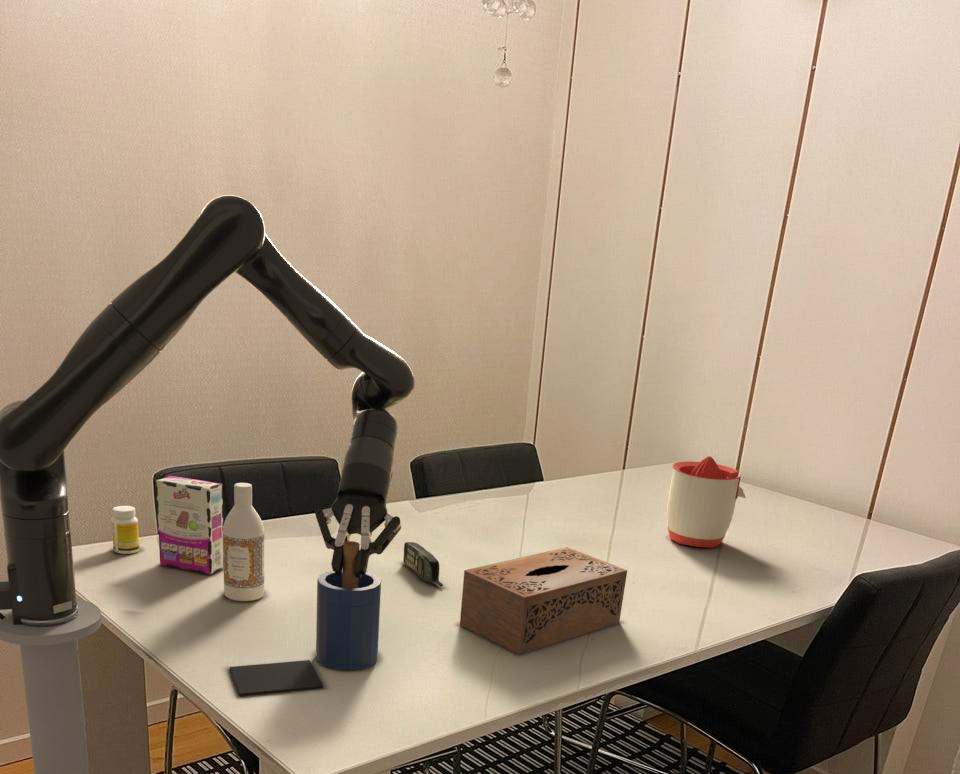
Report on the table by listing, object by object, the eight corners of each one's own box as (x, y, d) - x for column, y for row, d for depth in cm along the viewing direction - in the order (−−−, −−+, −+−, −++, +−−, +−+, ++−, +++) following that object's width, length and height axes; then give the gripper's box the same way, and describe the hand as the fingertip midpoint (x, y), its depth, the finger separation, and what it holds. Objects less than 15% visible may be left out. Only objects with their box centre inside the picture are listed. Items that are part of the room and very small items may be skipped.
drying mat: (239, 696, 136) (239, 693, 136) (229, 669, 144) (229, 666, 144) (323, 688, 141) (323, 685, 141) (309, 662, 148) (309, 660, 148)
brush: (337, 637, 146) (340, 549, 140) (330, 625, 150) (332, 539, 144) (367, 635, 147) (370, 548, 142) (359, 623, 151) (362, 538, 146)
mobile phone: (401, 540, 192) (433, 563, 180) (415, 539, 193) (447, 561, 181) (400, 564, 194) (431, 588, 182) (414, 563, 195) (446, 587, 183)
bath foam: (218, 599, 168) (215, 487, 160) (231, 586, 175) (229, 477, 167) (257, 604, 168) (256, 492, 160) (269, 590, 174) (269, 481, 166)
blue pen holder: (324, 673, 145) (326, 592, 140) (310, 647, 153) (311, 570, 148) (384, 667, 149) (388, 588, 144) (367, 643, 157) (370, 567, 152)
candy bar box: (225, 568, 183) (224, 483, 176) (211, 575, 179) (209, 489, 172) (173, 557, 186) (170, 473, 179) (158, 565, 181) (154, 479, 175)
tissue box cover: (518, 654, 158) (524, 597, 154) (459, 624, 167) (464, 570, 163) (619, 622, 174) (627, 570, 170) (560, 597, 184) (567, 547, 180)
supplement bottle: (144, 550, 188) (142, 508, 185) (125, 556, 184) (122, 513, 181) (127, 544, 190) (125, 503, 187) (108, 550, 186) (105, 508, 183)
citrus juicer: (738, 556, 217) (756, 469, 209) (661, 546, 219) (675, 459, 211) (733, 536, 232) (749, 454, 224) (660, 527, 234) (673, 445, 226)
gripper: (318, 455, 146) (296, 558, 139) (409, 465, 145) (392, 568, 139) (325, 481, 153) (305, 580, 146) (413, 491, 152) (396, 590, 146)
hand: (347, 574), depth 143 cm, fingers closed on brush, 2 cm apart
